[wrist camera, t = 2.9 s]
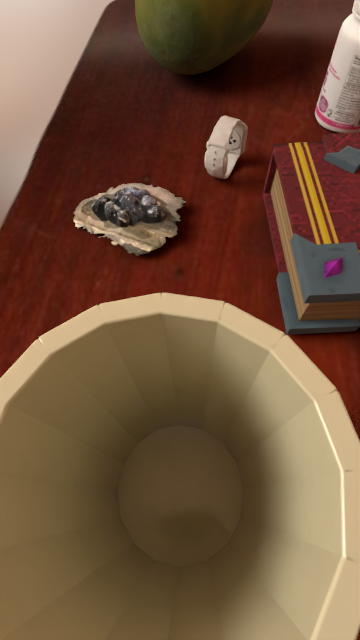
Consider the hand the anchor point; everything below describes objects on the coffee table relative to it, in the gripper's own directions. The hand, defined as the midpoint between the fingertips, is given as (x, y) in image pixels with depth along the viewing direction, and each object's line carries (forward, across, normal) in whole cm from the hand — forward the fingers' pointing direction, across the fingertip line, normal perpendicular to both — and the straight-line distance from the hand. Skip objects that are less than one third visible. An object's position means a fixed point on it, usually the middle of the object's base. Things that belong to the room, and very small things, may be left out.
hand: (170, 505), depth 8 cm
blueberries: (+19, +3, -6) cm, 20 cm away
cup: (+6, 0, +6) cm, 8 cm away
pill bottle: (+26, -15, -14) cm, 33 cm away
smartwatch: (+22, -4, -10) cm, 24 cm away
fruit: (+33, -4, -20) cm, 39 cm away
